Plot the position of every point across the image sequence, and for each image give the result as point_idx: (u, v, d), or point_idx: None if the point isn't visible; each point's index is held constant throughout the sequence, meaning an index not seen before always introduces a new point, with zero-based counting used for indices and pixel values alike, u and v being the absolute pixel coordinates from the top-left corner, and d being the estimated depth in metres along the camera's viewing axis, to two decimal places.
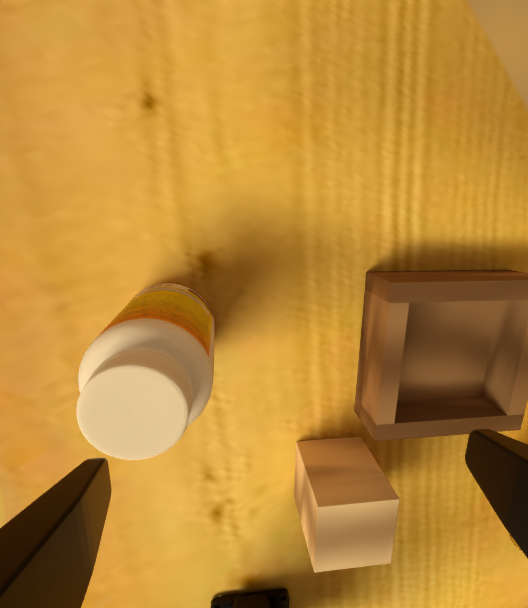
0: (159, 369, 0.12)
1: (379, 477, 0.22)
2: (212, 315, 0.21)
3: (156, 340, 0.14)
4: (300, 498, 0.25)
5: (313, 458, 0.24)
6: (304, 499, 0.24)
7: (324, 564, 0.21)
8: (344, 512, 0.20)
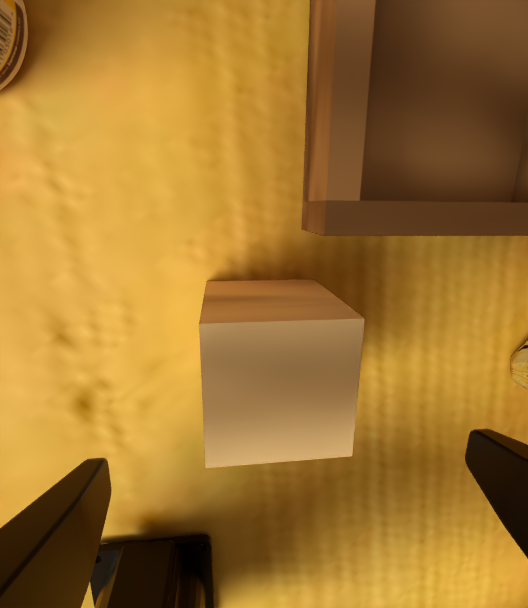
0: None
1: (333, 303, 0.12)
2: None
3: None
4: None
5: (224, 290, 0.14)
6: None
7: (225, 452, 0.11)
8: (256, 340, 0.10)
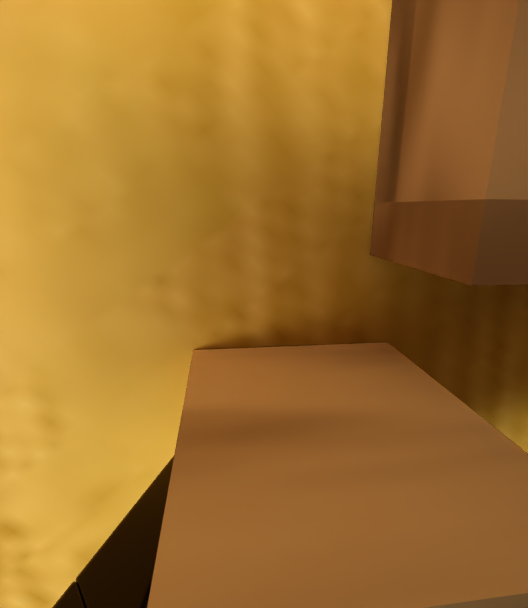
0: None
1: (494, 450, 0.05)
2: None
3: None
4: None
5: (228, 388, 0.07)
6: None
7: None
8: None
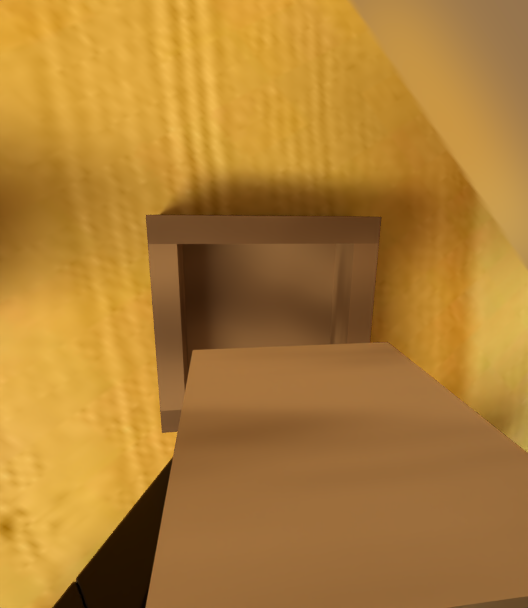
0: None
1: (495, 451, 0.05)
2: None
3: None
4: None
5: (227, 389, 0.07)
6: None
7: None
8: None
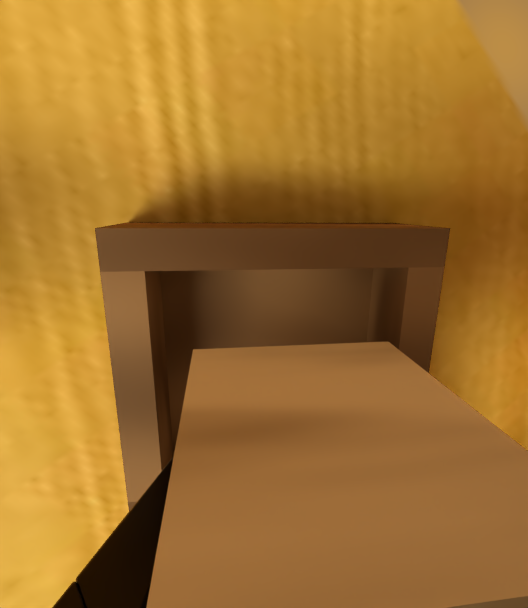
0: None
1: (496, 450, 0.05)
2: None
3: None
4: None
5: (227, 388, 0.07)
6: None
7: None
8: None
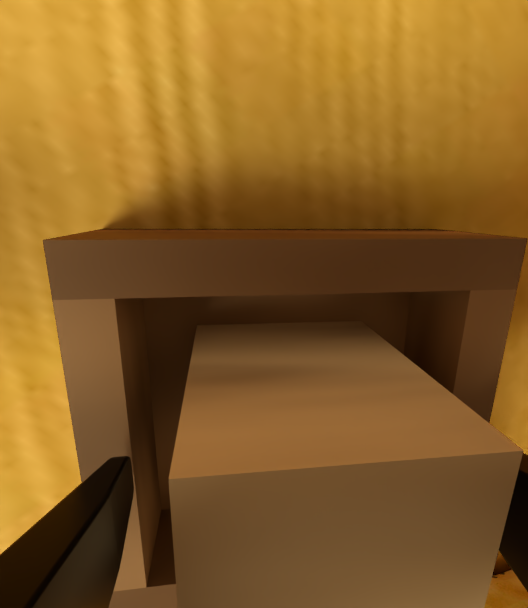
0: None
1: (425, 390, 0.07)
2: None
3: None
4: None
5: (225, 351, 0.08)
6: None
7: None
8: (295, 504, 0.05)
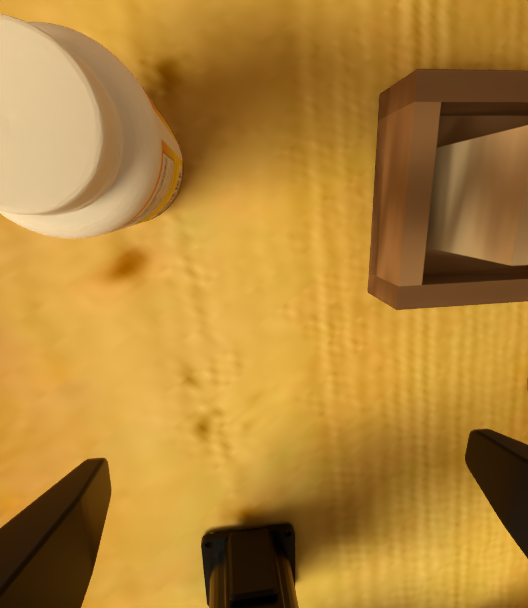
0: (44, 31, 0.07)
1: None
2: (178, 145, 0.16)
3: None
4: (450, 217, 0.17)
5: None
6: (468, 195, 0.16)
7: None
8: None
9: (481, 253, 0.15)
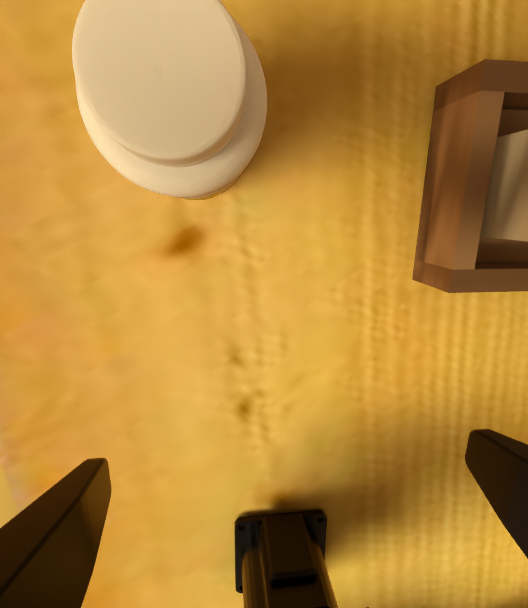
0: None
1: None
2: None
3: None
4: (503, 205, 0.17)
5: None
6: (525, 183, 0.16)
7: None
8: None
9: None
